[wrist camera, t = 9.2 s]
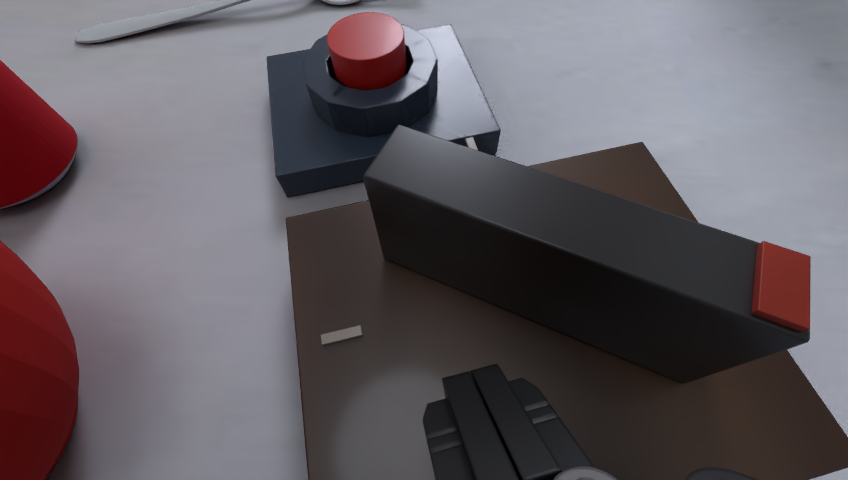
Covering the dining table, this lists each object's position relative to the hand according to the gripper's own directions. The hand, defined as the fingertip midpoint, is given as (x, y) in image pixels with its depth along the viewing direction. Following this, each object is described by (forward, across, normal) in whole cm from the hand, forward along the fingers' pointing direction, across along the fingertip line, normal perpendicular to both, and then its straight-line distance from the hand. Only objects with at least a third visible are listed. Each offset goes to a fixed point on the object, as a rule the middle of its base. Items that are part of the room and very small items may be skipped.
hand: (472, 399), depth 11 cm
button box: (+15, 0, -8) cm, 17 cm away
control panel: (+5, -3, +2) cm, 6 cm away
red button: (+13, 0, -10) cm, 17 cm away
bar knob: (+4, -3, -1) cm, 5 cm away
